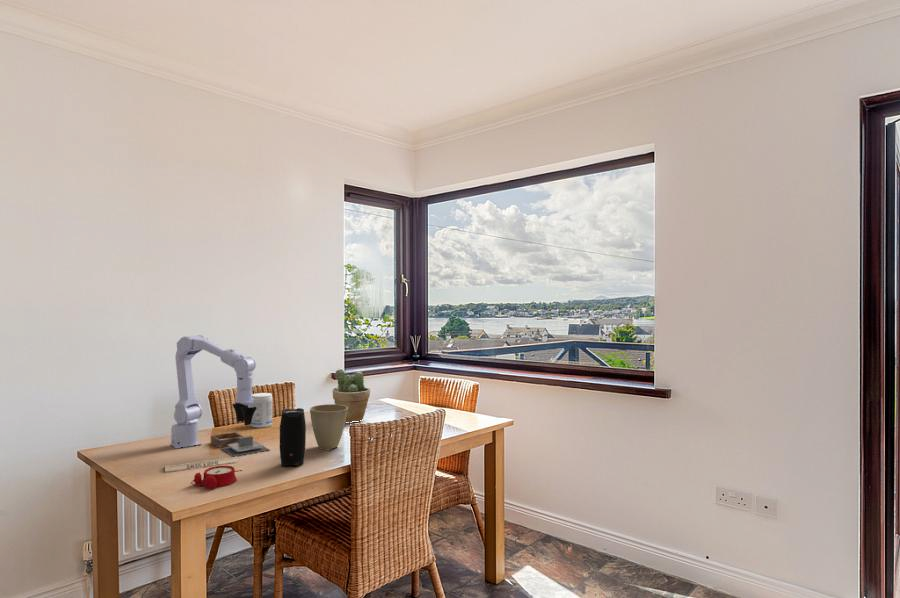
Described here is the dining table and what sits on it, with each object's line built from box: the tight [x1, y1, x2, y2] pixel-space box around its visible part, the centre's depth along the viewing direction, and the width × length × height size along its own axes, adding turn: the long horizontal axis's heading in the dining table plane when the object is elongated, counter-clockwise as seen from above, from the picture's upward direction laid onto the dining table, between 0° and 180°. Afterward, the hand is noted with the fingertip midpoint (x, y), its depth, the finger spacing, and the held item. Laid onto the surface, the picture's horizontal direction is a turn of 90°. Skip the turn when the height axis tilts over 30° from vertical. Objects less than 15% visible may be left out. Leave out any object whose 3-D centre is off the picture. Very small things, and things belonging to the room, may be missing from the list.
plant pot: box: [309, 403, 348, 450], centre depth 217 cm, size 15×15×16 cm
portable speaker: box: [279, 407, 307, 468], centre depth 194 cm, size 9×9×20 cm
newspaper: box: [163, 456, 240, 473], centre depth 192 cm, size 24×7×2 cm, turn 121°
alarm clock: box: [190, 465, 243, 490], centre depth 174 cm, size 10×6×15 cm
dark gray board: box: [220, 446, 271, 457], centre depth 212 cm, size 14×14×1 cm
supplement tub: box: [250, 392, 273, 429], centre depth 253 cm, size 10×10×15 cm
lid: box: [227, 435, 265, 452], centre depth 212 cm, size 10×10×5 cm
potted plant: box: [332, 368, 371, 422], centre depth 266 cm, size 18×19×25 cm
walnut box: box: [210, 431, 245, 449], centre depth 221 cm, size 10×10×3 cm
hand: (244, 423), depth 213 cm, fingers open, 7 cm apart
